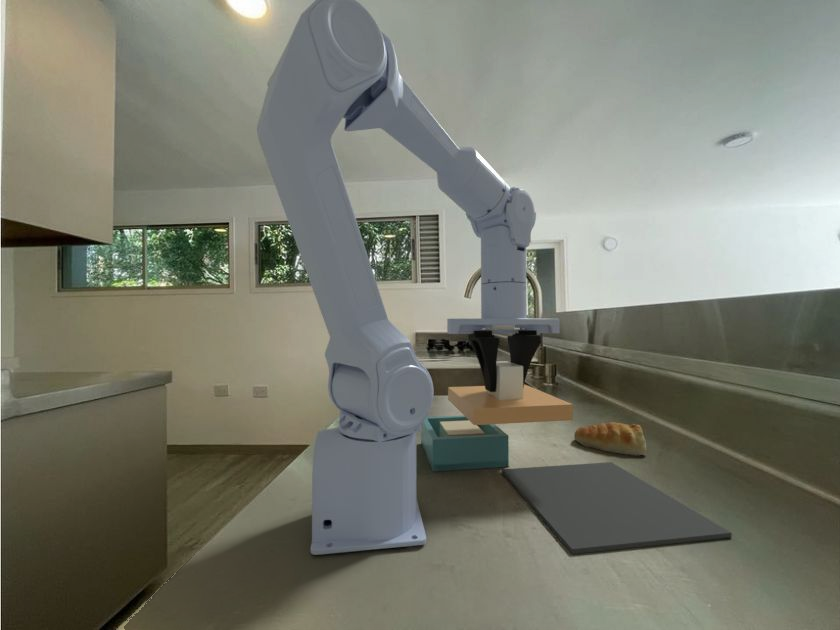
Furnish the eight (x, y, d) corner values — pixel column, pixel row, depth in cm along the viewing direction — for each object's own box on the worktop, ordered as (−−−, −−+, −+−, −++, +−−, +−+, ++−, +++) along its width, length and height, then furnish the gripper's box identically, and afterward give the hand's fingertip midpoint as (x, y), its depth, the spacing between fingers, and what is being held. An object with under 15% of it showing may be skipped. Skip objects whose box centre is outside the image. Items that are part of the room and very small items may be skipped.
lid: (473, 425, 37) (473, 372, 37) (448, 399, 49) (448, 359, 49) (572, 420, 39) (572, 369, 39) (525, 396, 51) (525, 357, 51)
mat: (572, 554, 27) (572, 549, 27) (501, 472, 42) (501, 469, 42) (731, 537, 30) (731, 532, 30) (611, 465, 44) (611, 462, 44)
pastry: (576, 450, 50) (576, 424, 50) (572, 436, 56) (572, 413, 57) (650, 459, 47) (650, 431, 47) (638, 443, 53) (637, 419, 53)
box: (432, 471, 43) (432, 439, 43) (421, 443, 53) (421, 417, 53) (508, 466, 44) (508, 435, 44) (483, 440, 54) (483, 414, 54)
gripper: (539, 288, 49) (540, 382, 49) (441, 287, 47) (442, 385, 47) (568, 282, 42) (569, 392, 42) (455, 281, 40) (455, 397, 40)
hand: (504, 390), depth 44 cm, fingers closed on lid, 3 cm apart
